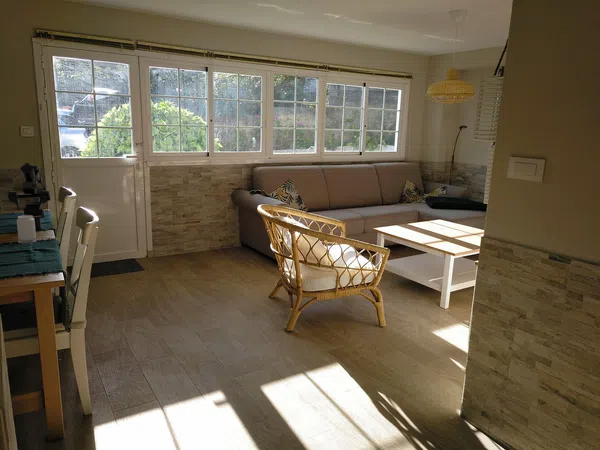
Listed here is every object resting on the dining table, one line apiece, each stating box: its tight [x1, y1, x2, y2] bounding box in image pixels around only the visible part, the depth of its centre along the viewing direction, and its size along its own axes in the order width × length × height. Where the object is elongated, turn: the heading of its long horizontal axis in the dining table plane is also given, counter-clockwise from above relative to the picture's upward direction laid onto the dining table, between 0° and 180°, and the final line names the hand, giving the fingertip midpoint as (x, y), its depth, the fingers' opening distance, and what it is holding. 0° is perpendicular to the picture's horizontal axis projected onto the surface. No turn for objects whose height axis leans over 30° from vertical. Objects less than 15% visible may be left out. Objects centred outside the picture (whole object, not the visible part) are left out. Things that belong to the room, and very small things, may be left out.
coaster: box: [17, 238, 38, 245], centre depth 224 cm, size 8×8×1 cm
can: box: [16, 215, 37, 241], centre depth 223 cm, size 8×8×12 cm
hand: (28, 209), depth 232 cm, fingers open, 9 cm apart
